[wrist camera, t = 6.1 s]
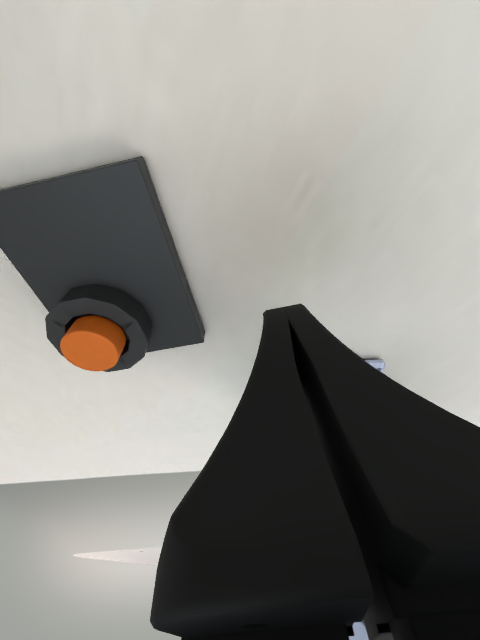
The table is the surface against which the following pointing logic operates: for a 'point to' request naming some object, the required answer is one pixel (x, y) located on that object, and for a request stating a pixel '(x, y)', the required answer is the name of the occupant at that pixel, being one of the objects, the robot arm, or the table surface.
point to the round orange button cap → (93, 343)
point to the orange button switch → (101, 256)
